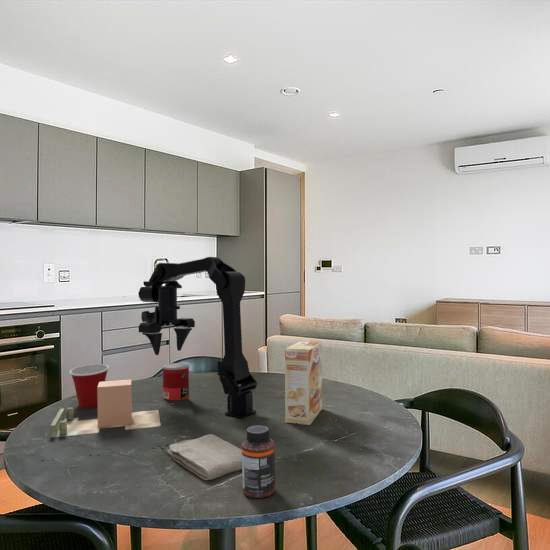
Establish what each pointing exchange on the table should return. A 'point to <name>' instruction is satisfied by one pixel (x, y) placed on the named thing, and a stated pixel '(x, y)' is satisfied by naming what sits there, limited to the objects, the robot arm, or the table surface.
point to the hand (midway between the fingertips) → (168, 352)
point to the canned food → (176, 381)
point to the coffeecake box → (303, 382)
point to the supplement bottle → (258, 463)
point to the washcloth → (207, 456)
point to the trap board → (76, 427)
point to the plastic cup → (88, 382)
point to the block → (114, 403)
